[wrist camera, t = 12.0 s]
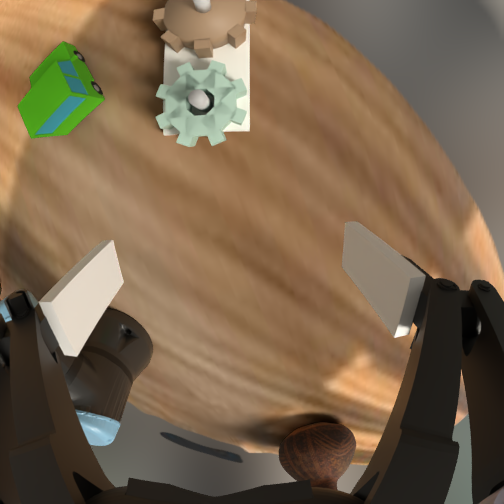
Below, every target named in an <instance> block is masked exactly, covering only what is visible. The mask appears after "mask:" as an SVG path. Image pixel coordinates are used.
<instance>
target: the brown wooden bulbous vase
mask: <svg viewBox="0 0 504 504" xmlns="http://www.w3.org/2000/svg"><path fill="white" fill-rule="evenodd" d="M355 448H356V440H355V437H354V435H353V433H352V432H351V431H350V430H349V429H348V428H347V427H345V426H344V425H341V424H332V423H326V422H320V423H315V424H310V425H307V426H303V427H300V428H298V429H296V430H294V431H293V432H292V433H291V434H290V435H288V436H287V437H286V438H285V439H284V440H283V442H282V443H281V445H280V448H279V460H280V463H281V465H282V467H283V468H284V469H285V471H286V472H287V473H288V474H289V475H291V476H292V477H293V478H294V479H295V480H297V481H303V480H309V479H310V483H311V487H320V488H328V489H333V490H337V480H338V479H339V478H340V477H341V476H342V475H343V474H344V472H345V471H346V470H347V468H348V467H349V465H350V463H351V461H352V458H353V456H354V452H355Z"/></svg>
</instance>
